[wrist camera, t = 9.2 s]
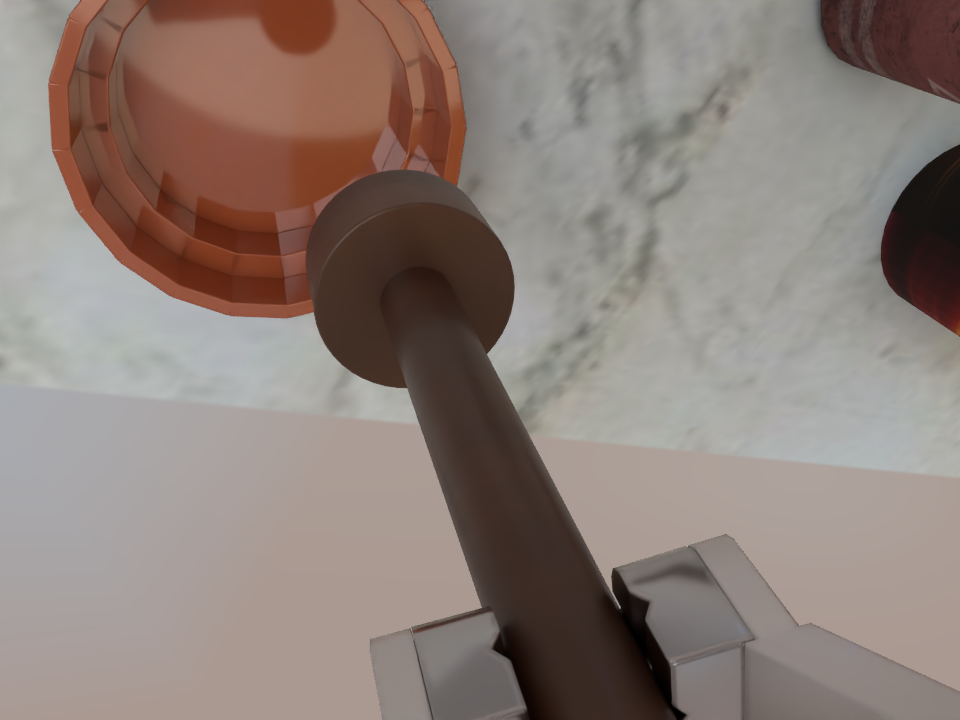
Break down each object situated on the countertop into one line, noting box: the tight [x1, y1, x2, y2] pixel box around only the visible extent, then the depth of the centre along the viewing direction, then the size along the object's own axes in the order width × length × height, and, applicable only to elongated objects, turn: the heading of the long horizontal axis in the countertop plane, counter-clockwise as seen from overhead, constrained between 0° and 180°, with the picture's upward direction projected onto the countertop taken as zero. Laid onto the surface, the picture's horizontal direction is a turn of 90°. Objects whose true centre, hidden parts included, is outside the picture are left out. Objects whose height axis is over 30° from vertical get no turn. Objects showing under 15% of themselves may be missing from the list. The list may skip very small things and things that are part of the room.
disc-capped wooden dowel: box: [305, 169, 677, 720], centre depth 15 cm, size 4×4×16 cm
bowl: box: [48, 0, 466, 318], centre depth 34 cm, size 14×14×6 cm
